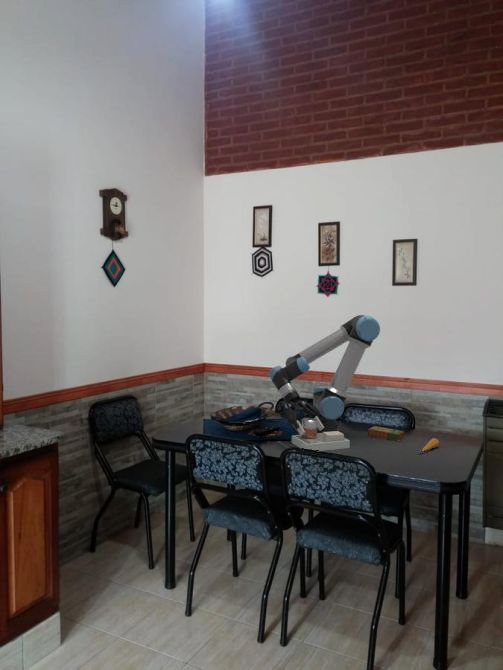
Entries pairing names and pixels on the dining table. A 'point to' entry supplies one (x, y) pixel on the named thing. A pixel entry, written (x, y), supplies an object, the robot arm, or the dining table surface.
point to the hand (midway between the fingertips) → (312, 431)
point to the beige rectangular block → (332, 436)
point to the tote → (320, 443)
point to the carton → (385, 433)
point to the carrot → (431, 444)
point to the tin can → (309, 430)
